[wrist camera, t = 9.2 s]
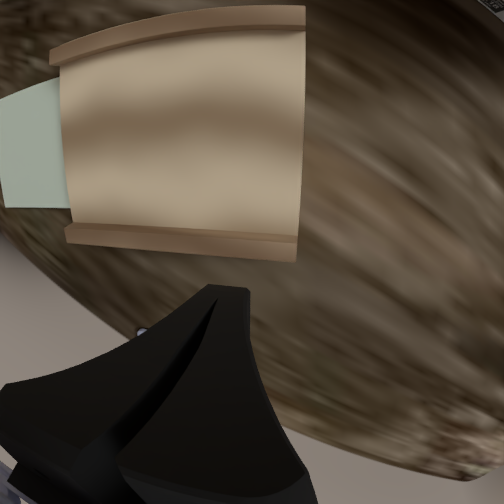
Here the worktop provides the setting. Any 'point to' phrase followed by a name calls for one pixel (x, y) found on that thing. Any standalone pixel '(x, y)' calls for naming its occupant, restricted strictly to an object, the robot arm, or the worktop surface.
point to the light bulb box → (494, 7)
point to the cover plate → (33, 148)
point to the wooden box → (187, 132)
